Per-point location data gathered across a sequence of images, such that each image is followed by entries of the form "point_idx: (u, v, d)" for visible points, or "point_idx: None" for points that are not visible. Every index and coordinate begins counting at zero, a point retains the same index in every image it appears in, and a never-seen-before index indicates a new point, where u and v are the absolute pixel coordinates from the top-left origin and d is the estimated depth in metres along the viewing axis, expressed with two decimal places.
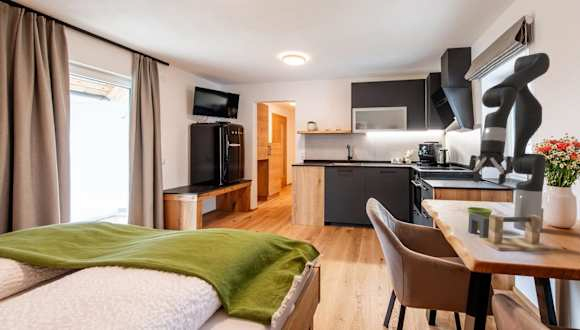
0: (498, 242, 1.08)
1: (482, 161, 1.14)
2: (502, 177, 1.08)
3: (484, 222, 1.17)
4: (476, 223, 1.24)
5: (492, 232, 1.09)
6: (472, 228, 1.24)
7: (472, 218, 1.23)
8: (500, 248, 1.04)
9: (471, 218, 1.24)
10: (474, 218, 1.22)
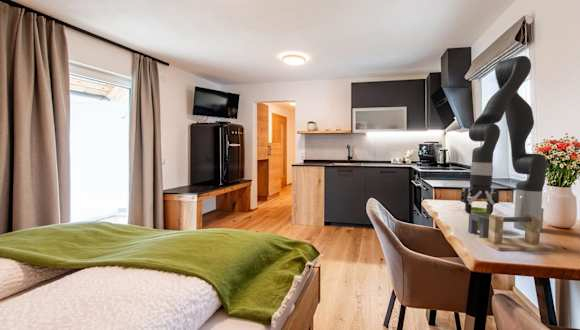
0: (498, 242, 1.08)
1: (477, 194, 1.19)
2: (492, 207, 1.20)
3: (484, 222, 1.17)
4: (476, 223, 1.24)
5: (492, 232, 1.09)
6: (472, 228, 1.24)
7: (472, 218, 1.23)
8: (500, 248, 1.04)
9: (471, 218, 1.24)
10: (474, 218, 1.22)
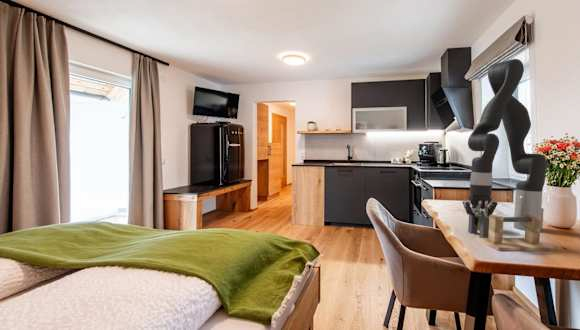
0: (498, 242, 1.08)
1: (479, 205, 1.19)
2: None
3: (484, 222, 1.17)
4: None
5: (492, 232, 1.09)
6: (472, 228, 1.24)
7: None
8: (500, 248, 1.04)
9: (471, 218, 1.24)
10: None
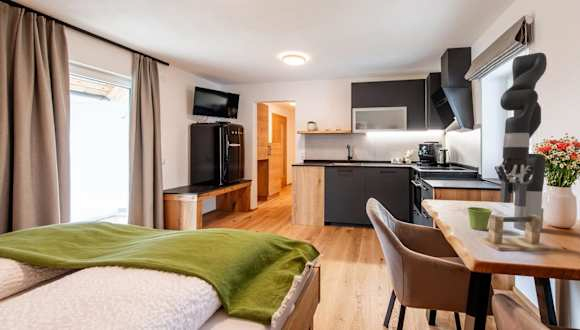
0: (498, 242, 1.08)
1: (514, 169, 1.07)
2: None
3: (521, 188, 1.05)
4: None
5: (492, 232, 1.09)
6: (505, 197, 1.12)
7: None
8: (500, 248, 1.04)
9: (504, 186, 1.12)
10: None
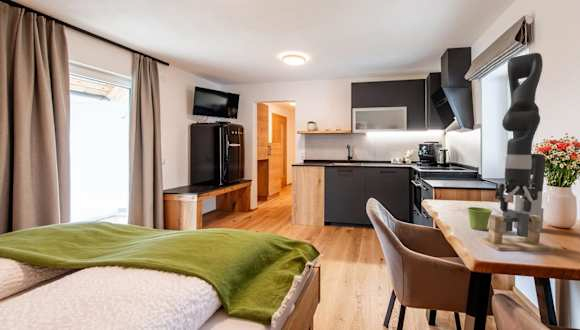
0: (498, 242, 1.08)
1: (515, 190, 1.07)
2: (530, 204, 1.08)
3: (523, 218, 1.05)
4: None
5: (492, 232, 1.09)
6: (507, 225, 1.12)
7: (507, 214, 1.11)
8: (500, 248, 1.04)
9: (505, 214, 1.12)
10: (510, 214, 1.10)
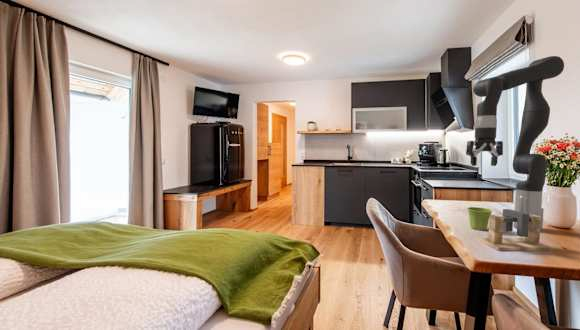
0: (498, 242, 1.08)
1: (482, 146, 1.24)
2: (496, 159, 1.25)
3: (523, 218, 1.05)
4: None
5: (492, 232, 1.09)
6: (507, 225, 1.12)
7: (507, 214, 1.11)
8: (500, 248, 1.04)
9: (505, 214, 1.12)
10: (510, 214, 1.10)
